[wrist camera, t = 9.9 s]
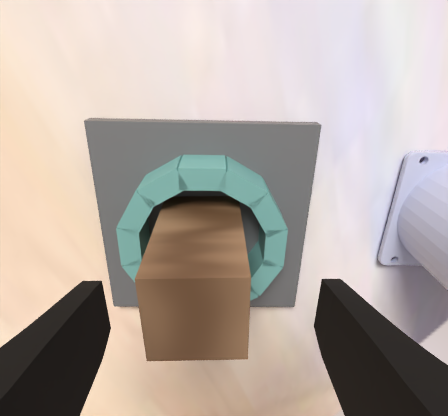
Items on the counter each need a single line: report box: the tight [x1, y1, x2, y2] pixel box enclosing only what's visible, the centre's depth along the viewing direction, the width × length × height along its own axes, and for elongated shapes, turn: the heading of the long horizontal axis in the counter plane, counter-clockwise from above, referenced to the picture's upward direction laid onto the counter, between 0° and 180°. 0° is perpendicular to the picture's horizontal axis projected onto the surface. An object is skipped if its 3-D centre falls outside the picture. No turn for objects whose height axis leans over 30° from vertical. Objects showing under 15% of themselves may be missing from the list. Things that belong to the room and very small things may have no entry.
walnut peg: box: [135, 196, 251, 361], centre depth 17 cm, size 4×4×8 cm
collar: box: [84, 118, 321, 307], centre depth 19 cm, size 13×13×3 cm
